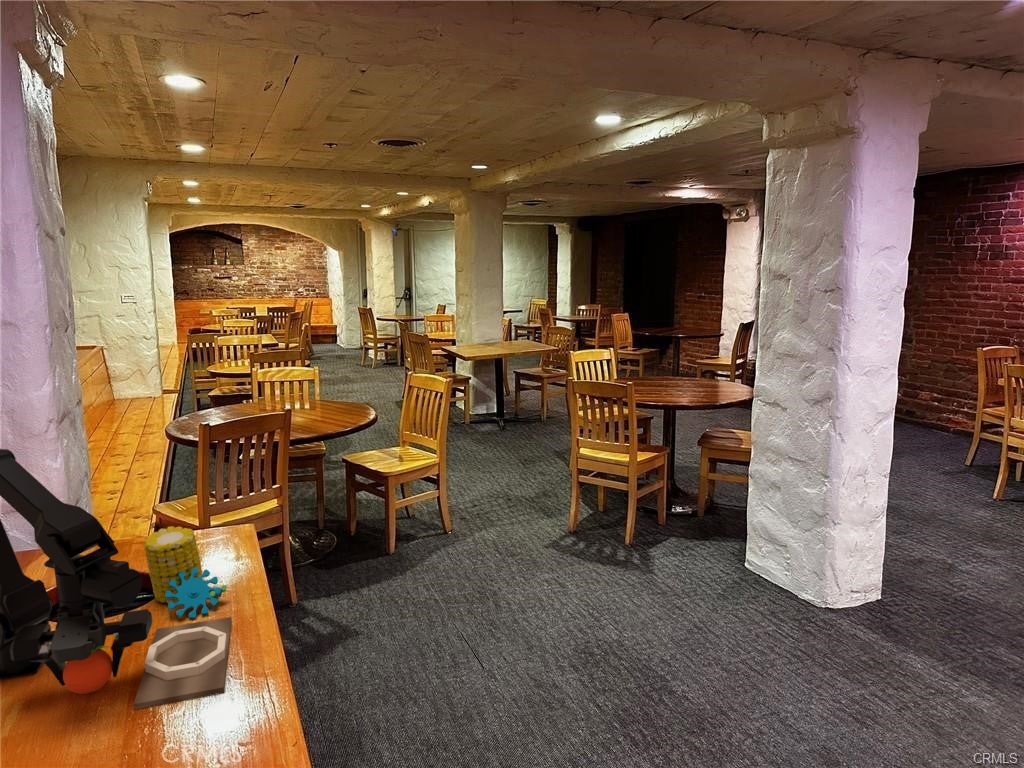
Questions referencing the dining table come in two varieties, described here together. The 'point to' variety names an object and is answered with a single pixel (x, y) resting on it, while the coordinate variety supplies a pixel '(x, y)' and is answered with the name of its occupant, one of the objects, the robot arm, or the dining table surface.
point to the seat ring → (185, 669)
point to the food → (171, 559)
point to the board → (180, 654)
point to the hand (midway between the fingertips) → (90, 680)
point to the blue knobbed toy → (194, 593)
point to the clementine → (88, 672)
